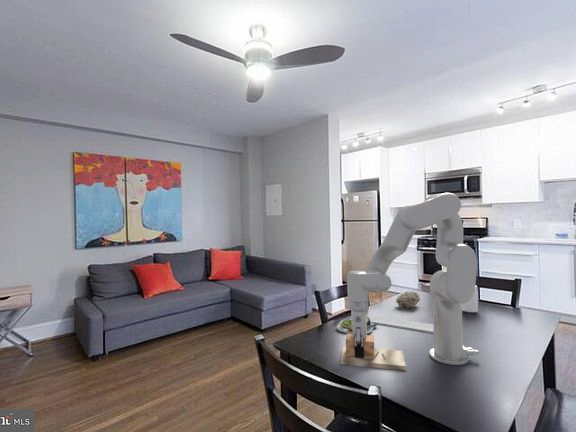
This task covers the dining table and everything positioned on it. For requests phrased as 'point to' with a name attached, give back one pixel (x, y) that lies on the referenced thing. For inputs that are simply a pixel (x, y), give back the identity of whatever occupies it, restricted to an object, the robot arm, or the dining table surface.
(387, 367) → the plywood board
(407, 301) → the pumice stone
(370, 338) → the block
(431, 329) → the baseboard
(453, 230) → the robot arm
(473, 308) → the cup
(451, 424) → the dining table surface
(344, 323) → the salad plate
